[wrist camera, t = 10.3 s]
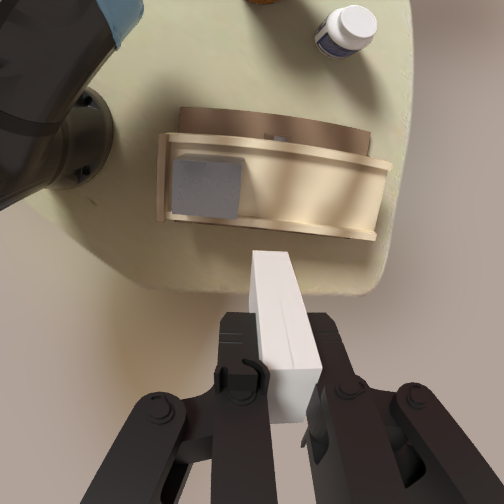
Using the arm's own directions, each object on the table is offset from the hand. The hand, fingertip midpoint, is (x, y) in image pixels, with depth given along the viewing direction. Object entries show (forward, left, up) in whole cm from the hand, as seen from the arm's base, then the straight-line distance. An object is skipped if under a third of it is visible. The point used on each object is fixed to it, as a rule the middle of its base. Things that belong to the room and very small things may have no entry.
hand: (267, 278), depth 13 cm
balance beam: (+2, 0, -21) cm, 21 cm away
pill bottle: (+8, +19, -27) cm, 34 cm away
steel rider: (-5, 0, -19) cm, 20 cm away
